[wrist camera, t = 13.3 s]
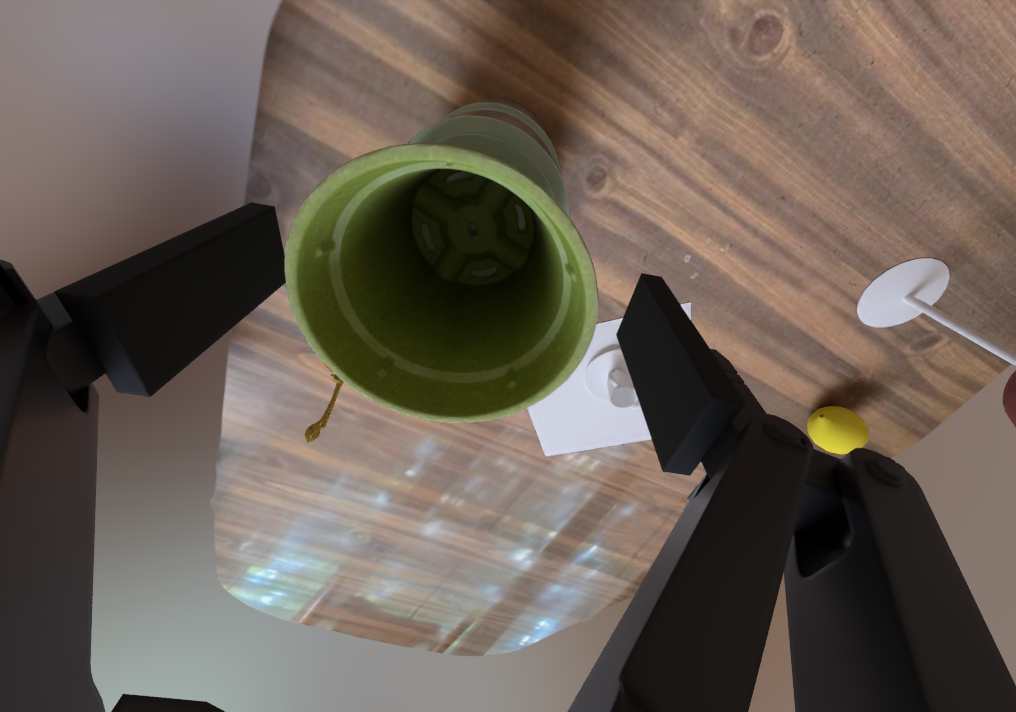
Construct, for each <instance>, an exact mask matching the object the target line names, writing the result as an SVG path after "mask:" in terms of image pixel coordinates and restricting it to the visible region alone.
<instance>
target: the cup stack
mask: <svg viewBox="0 0 1016 712" xmlns="http://www.w3.org/2000/svg"><path fill="white" fill-rule="evenodd" d="M413 143H436V144H447V145H453V146H459V147H463V148H467V149H472V150H475V151H478V152H481V153H484V154H487V155H489V156H492V157H494V158H497V159H499V160H501V161H503V162H505V163H507V164H509V165H510V166H512V167H514V168H516V169H518V170H519V171H521V172H522V173H524V174H525V175H527V176H528V177H530V178H531V179H532V180H533V181H535V182H536V183H537V184H538V185H539V186H541V187H542V188H543V189H544V190H545V191H547V192H548V193H549V194H550V195H551V196H552V197H553V198H554V200H555V201H556V202H557V203H558V204H559V205H560V206H561V207H562V209H563V210H564V211H565V212H566V213H567V215H568V216H569V218H570V207H569V200H568V195H567V191H566V188H565V185H564V182H563V179H562V176H561V170H560V164H559V160H558V157H557V154H556V151H555V149H554V147H553V144H552V142H551V140H550V138H549V135H548V133H547V131H546V130H545V128H544V126H543V125H542V123H541V122H540V121H539V120H538V119H537V117H536V116H535V115H533V114H532V113H531V112H530V111H529V110H527V109H526V108H524V107H523V106H521V105H519V104H517V103H515V102H512V101H509V100H506V99H498V98H491V99H484V100H479V101H476V102H474V103H471V104H468V105H466V106H463V107H461V108H458V109H456V110H455V111H453V112H451V113H449V114H448V115H447V116H446V117H444V118H443V119H442V120H441V121H439V122H437V123H435V124H433V125H431V126H429V127H427V128H425V129H424V130H422V131H421V132H420V133H418V134H417V135H416V136H415V137H413V138H412V139H411V140H410V141H409V142H408V143H407V144H413ZM474 178H475V176H474V173H471V172H467V171H464V172H458V173H455V174H453V175H452V176H449V177H448V178H447V181H446V183H447V184H449V183H451V182H452V183H453V182H456V181H460V180H473V179H474ZM514 207H515V211H516V213H517V214H516V215H517V219H518V227H519V232H520V233H521V232H523V231H524V229H525V220H524V214H523V211H522V209H521V206H518V205H517V204H516V205H515V206H514ZM467 230H468V233H469V234H470V235H472V236H474V235H476V234H477V228H476V226H474V225H473V224H472V225H469V226H468V228H467ZM422 234H423V237H424V238H425V240H426V243H427V245H428V248H429V249H432V250H434V249H435V246H434V245H433V242H432V239H431V237H430V232H429V228H428V225H427V224H425V223H424V224H423V225H422ZM496 271H497V268H495V267H491V268H489V269H485V270H473V271H472V272H471V274H472V275H473V276H479V277H482V276H489V275H492V274H494V273H495V272H496Z"/></svg>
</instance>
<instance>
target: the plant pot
mask: <svg viewBox="0 0 1016 712" xmlns="http://www.w3.org/2000/svg"><path fill="white" fill-rule="evenodd" d="M464 171H467V172H471V173H474V176H475V178H474V179H473V180H460V181H456V182H453V183H452V182H451V183H449V184H447V183H446V181H447V178H448V177H449V176H452V175H453V174H455V173H458V172H464ZM516 204H517V205H518V206H521V209H522V211H523V214H524V220H525V229H524V231H523V232H521V233H520V232H519V227H518V219H517V215H516V214H517V213H516V211H515V207H514V206H515V205H516ZM424 223H425V224H427V225H428V228H429V232H430V237H431V239H432V242H433V245H434V246H435V249H434V250H432V249H429V248H428V245H427V243H426V240H425V238H424V237H423V234H422V225H423V224H424ZM472 224H473V225H474V226H476V228H477V234H476V235H474V236H472V235H470V234H469V233H468V230H467V228H468V226H469V225H472ZM284 262H285V279H286V288H287V294H288V299H289V303H290V306H291V310H292V312H293V315H294V317H295V320H296V322H297V324H298V326H299V327H300V329H301V331H302V333H303V335H304V336H305V337H306V339H307V340H308V342H309V345H310V346H311V348H312V349H313V350H314V352H315V353H316V354H317V355H318V357H319V358H320V359H321V360H322V361H323V362H324V363H325V364H326V365H327V366H328V367H329V368H330V369H331V370H332V371H333V372H334V373H335V374H336V375H337V376H338V377H339V378H340V379H341V380H342V381H343V382H345V383H346V384H347V385H349V386H350V387H351V388H353V389H354V390H356V391H357V392H359V393H361V394H362V395H364V396H366V397H367V398H369V399H371V400H373V401H374V402H376V403H378V404H380V405H382V406H384V407H387V408H389V409H392V410H394V411H397V412H400V413H402V414H405V415H409V416H413V417H416V418H422V419H426V420H431V421H440V422H452V423H465V422H479V421H486V420H492V419H497V418H502V417H505V416H508V415H512V414H514V413H517V412H520V411H522V410H524V409H526V408H528V407H530V406H532V405H534V404H536V403H538V402H539V401H541V400H543V399H544V398H546V397H547V396H549V395H550V394H551V393H552V392H554V391H555V390H556V389H557V388H558V387H560V386H561V385H562V384H563V383H565V382H566V381H567V380H568V379H569V377H570V376H571V375H572V373H573V372H574V371H575V370H576V368H577V367H578V366H579V364H580V363H581V361H582V360H583V358H584V356H585V354H586V352H587V350H588V348H589V345H590V343H591V341H592V338H593V335H594V331H595V328H596V323H597V316H598V288H597V280H596V274H595V270H594V266H593V263H592V260H591V257H590V254H589V252H588V250H587V247H586V245H585V243H584V241H583V239H582V237H581V235H580V233H579V232H578V230H577V228H576V227H575V225H574V224H573V222H572V221H571V219H570V218H569V216H568V215H567V213H566V212H565V211H564V210H563V209H562V207H561V206H560V205H559V204H558V203H557V202H556V201H555V200H554V198H553V197H552V196H551V195H550V194H549V193H548V192H547V191H545V190H544V189H543V188H542V187H541V186H539V185H538V184H537V183H536V182H535V181H533V180H532V179H531V178H530V177H528V176H527V175H525V174H524V173H522V172H521V171H519V170H518V169H516V168H514V167H512V166H510V165H509V164H507V163H505V162H503V161H501V160H499V159H497V158H494V157H492V156H489V155H487V154H484V153H481V152H478V151H475V150H472V149H467V148H463V147H459V146H453V145H447V144H436V143H413V144H403V145H396V146H391V147H387V148H383V149H379V150H375V151H372V152H370V153H367V154H364V155H361V156H359V157H357V158H354V159H353V160H351V161H349V162H347V163H345V164H344V165H342V166H340V167H339V168H337V169H336V170H334V171H333V172H332V173H331V174H330V175H328V176H327V177H326V178H325V179H324V180H322V181H321V182H320V183H319V184H318V185H317V186H316V188H315V189H314V190H313V191H312V192H311V193H310V194H309V195H308V197H307V198H306V199H305V201H304V202H303V204H302V205H301V207H300V209H299V211H298V212H297V214H296V216H295V218H294V221H293V223H292V226H291V228H290V231H289V235H288V239H287V243H286V248H285V259H284ZM491 267H495V268H497V271H496V272H495V273H494V274H492V275H489V276H482V277H479V276H473V275H472V274H471V272H472V271H473V270H485V269H489V268H491Z"/></svg>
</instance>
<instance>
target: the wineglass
mask: <svg viewBox="0 0 1016 712" xmlns="http://www.w3.org/2000/svg"><path fill="white" fill-rule="evenodd" d="M949 278H950V275H949V269H948V267H947V266H946V265H945V264H944V263H943V262H942V261H939V260H936V259H933V258H922V259H915V260H911V261H908V262H904V263H901V264H899V265H897V266H895V267H893V268H891V269H889V270H887V271H886V272H885V273H883V274H882V275H881V276H879V277H878V278H877V279H875V280H874V281H873V282H872V283H871V284H870V285H869V287H868V288H867V289H866V290H865V291H864V293H863V294H862V296H861V298H860V300H859V302H858V308H857V313H858V316H859V319H860V320H861V321H862V322H863V323H864V324H866V325H868V326H872V327H890V326H894V325H898V324H902V323H904V322H906V321H909V320H911V319H913V318H915V317H917V316H918V315H920V314H921V313H925V314H926V315H928V316H930V317H932V318H933V319H935V320H937V321H939V322H940V323H942V324H944V325H946V326H947V327H949V328H951V329H952V330H954V331H956V332H958V333H959V334H961V335H963V336H965V337H966V338H968V339H970V340H971V341H973V342H975V343H977V344H978V345H980V346H982V347H984V348H985V349H987V350H989V351H991V352H992V353H994V354H996V355H997V356H999V357H1001V358H1003V359H1004V360H1006V361H1008V362H1010V363H1011V364H1013V365H1015V366H1016V352H1014V351H1013V350H1011V349H1009V348H1007V347H1005V346H1003V345H1002V344H1000V343H998V342H996V341H994V340H993V339H991V338H989V337H987V336H985V335H983V334H982V333H980V332H978V331H976V330H974V329H973V328H971V327H969V326H967V325H965V324H963V323H962V322H960V321H958V320H956V319H954V318H952V317H951V316H949V315H947V314H945V313H943V312H942V311H940V310H938V309H936V308H934V307H932V305H933V304H934V303H935V302H936V301H937V300H938V299H939V298H940V297H941V295H942V294H943V292H944V291H945V289H946V288H947V285H948V282H949ZM1003 405H1004V408H1005V412H1006V413H1007V415H1008V417H1009V418H1010V420H1011V421H1012V423H1013V424H1014V425H1015V427H1016V371H1015V372H1014V373H1013V374H1012V375H1011V377H1010V378H1009V380H1008V382H1007V384H1006V386H1005V389H1004V394H1003Z"/></svg>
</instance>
